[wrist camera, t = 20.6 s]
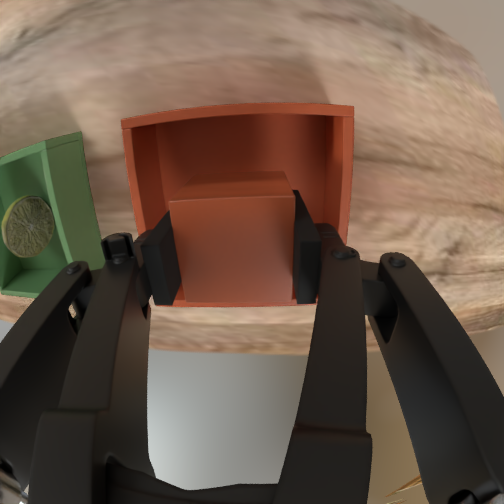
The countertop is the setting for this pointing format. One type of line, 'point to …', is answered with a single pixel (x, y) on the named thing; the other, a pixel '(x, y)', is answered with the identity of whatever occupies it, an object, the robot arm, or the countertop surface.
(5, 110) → the countertop surface
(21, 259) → the green bin
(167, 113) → the terracotta bin
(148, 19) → the countertop surface
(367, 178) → the countertop surface
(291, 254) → the block
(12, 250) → the lime
